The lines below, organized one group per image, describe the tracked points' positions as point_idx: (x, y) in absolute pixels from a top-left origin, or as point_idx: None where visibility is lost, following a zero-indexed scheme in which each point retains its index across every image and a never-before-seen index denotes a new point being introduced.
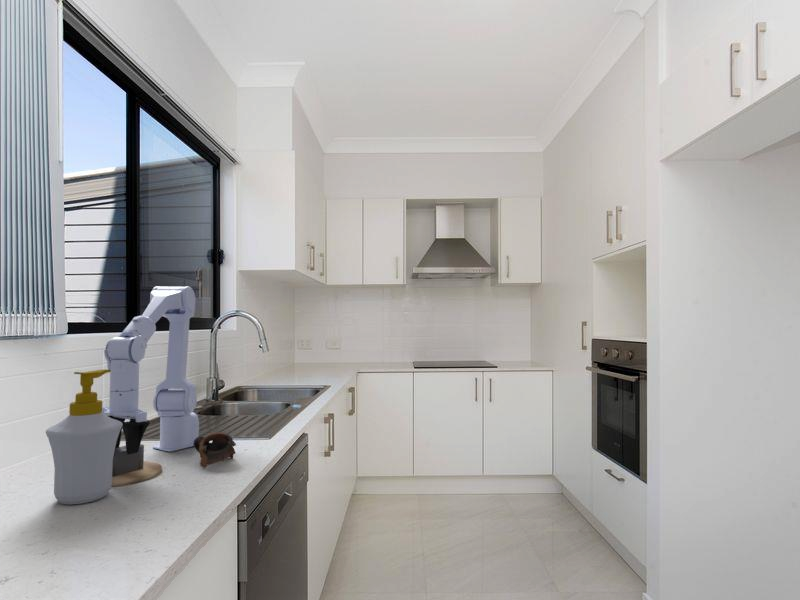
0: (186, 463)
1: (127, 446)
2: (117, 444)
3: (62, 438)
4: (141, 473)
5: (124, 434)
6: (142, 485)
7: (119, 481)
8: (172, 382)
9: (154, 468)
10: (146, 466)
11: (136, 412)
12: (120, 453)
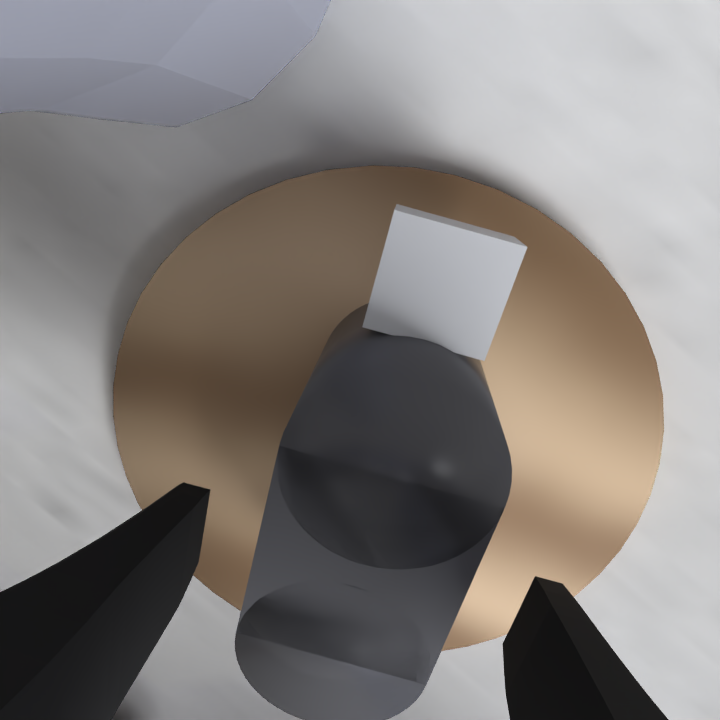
0: (192, 687)
1: (137, 520)
2: (513, 664)
3: None
4: (197, 446)
5: (67, 634)
6: (46, 301)
7: (176, 259)
8: None
9: (214, 547)
10: None
11: None
12: (274, 476)
